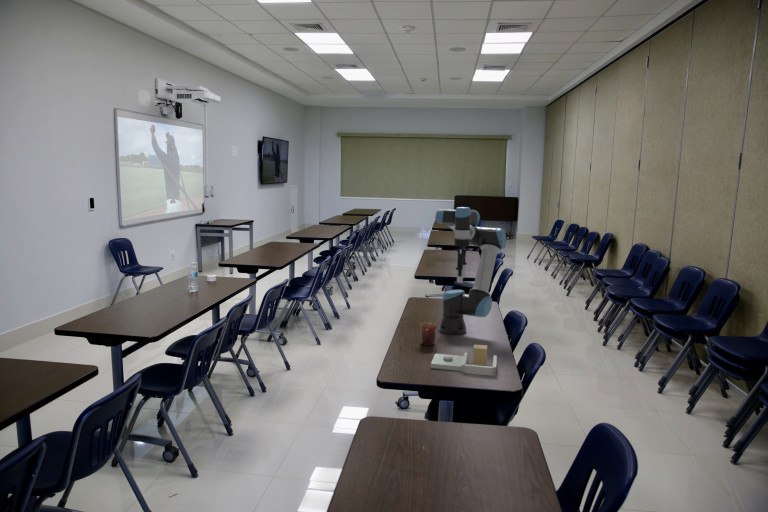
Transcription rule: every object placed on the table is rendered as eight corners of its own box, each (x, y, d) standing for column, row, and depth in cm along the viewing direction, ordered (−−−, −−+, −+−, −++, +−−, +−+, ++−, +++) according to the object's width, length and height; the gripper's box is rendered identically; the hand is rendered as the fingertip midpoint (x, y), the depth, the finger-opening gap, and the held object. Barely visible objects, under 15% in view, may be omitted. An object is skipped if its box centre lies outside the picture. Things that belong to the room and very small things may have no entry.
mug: (420, 340, 268) (420, 321, 266) (437, 341, 266) (437, 322, 264) (417, 347, 256) (417, 328, 255) (434, 349, 254) (435, 329, 253)
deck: (435, 356, 243) (435, 350, 242) (496, 362, 236) (496, 355, 236) (429, 369, 227) (430, 362, 226) (495, 376, 220) (496, 368, 219)
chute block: (473, 362, 235) (474, 344, 234) (486, 364, 234) (487, 345, 233) (472, 366, 231) (473, 347, 229) (486, 367, 229) (486, 349, 228)
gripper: (457, 235, 264) (455, 275, 267) (452, 240, 240) (450, 284, 243) (471, 235, 262) (470, 275, 265) (467, 241, 238) (466, 285, 241)
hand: (460, 280), depth 254 cm, fingers open, 13 cm apart
